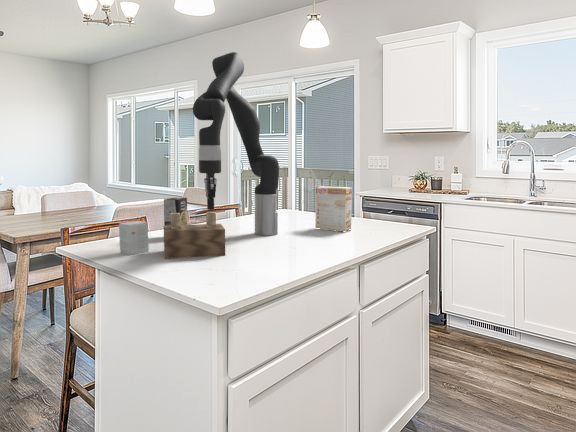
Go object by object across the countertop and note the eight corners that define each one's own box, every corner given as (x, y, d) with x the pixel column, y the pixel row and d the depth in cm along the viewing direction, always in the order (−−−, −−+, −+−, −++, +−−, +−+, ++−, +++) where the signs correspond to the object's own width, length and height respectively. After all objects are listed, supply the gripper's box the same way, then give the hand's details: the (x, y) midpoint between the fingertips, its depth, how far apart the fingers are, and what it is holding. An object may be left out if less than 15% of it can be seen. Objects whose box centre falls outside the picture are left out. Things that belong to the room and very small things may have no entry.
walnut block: (220, 247, 167) (220, 223, 166) (225, 255, 156) (225, 229, 155) (164, 250, 162) (163, 225, 161) (164, 258, 151) (163, 231, 149)
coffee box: (179, 240, 181) (178, 199, 179) (164, 239, 183) (162, 199, 180) (188, 236, 190) (187, 197, 188) (174, 235, 191) (173, 196, 189)
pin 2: (215, 234, 162) (214, 211, 160) (216, 235, 159) (215, 212, 158) (206, 234, 161) (206, 212, 160) (207, 236, 158) (207, 213, 157)
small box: (138, 249, 164) (137, 220, 163) (149, 251, 161) (148, 221, 160) (119, 253, 158) (118, 223, 156) (129, 255, 155) (128, 224, 153)
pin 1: (180, 235, 158) (179, 212, 157) (180, 237, 156) (180, 214, 154) (171, 236, 158) (170, 213, 156) (171, 237, 155) (170, 214, 154)
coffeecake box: (351, 230, 206) (352, 187, 204) (344, 232, 200) (345, 188, 198) (322, 227, 214) (323, 185, 211) (314, 229, 208) (315, 186, 206)
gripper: (223, 159, 151) (224, 211, 153) (218, 158, 163) (219, 207, 166) (200, 159, 149) (201, 212, 151) (197, 158, 161) (198, 207, 164)
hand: (210, 209), depth 158 cm, fingers closed
